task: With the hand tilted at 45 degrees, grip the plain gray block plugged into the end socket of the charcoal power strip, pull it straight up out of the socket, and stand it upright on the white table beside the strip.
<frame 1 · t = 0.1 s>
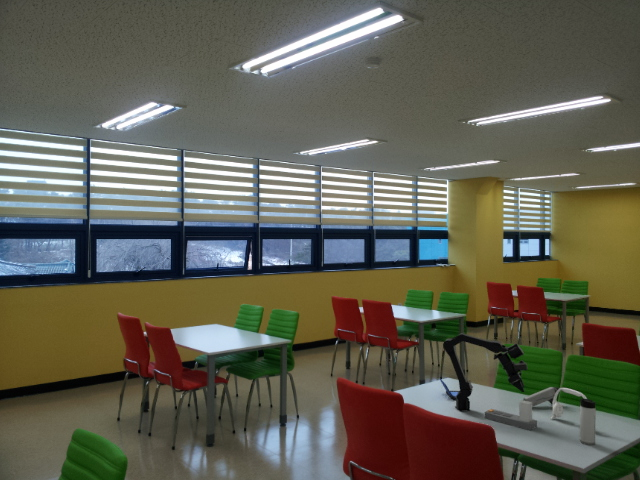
hand: (523, 389, 260), 15 cm above the table, tool tilted 35°, fingers open, 9 cm apart
headset: (571, 424, 251), on the table
power strip: (510, 422, 254), on the table
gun: (541, 406, 280), on the table
handheld game console: (453, 396, 297), on the table
plain gray block: (525, 426, 248), resting in power strip
travel mug: (587, 443, 228), on the table
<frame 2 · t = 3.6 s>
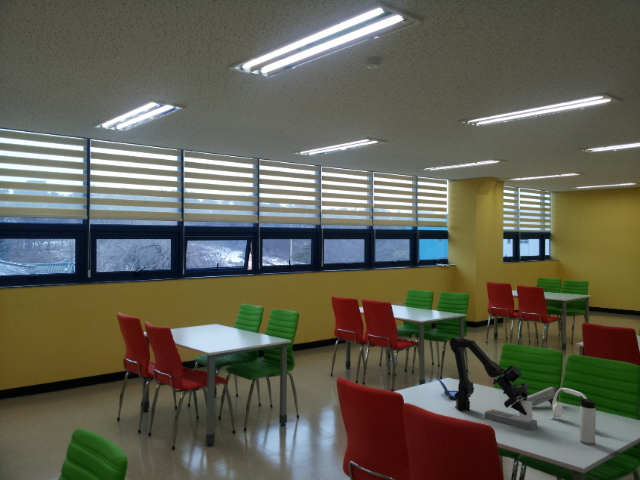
hand: (528, 413, 247), 7 cm above the table, tool tilted 45°, fingers closed on plain gray block, 5 cm apart
plain gray block: (525, 426, 248), resting in power strip, touching gripper
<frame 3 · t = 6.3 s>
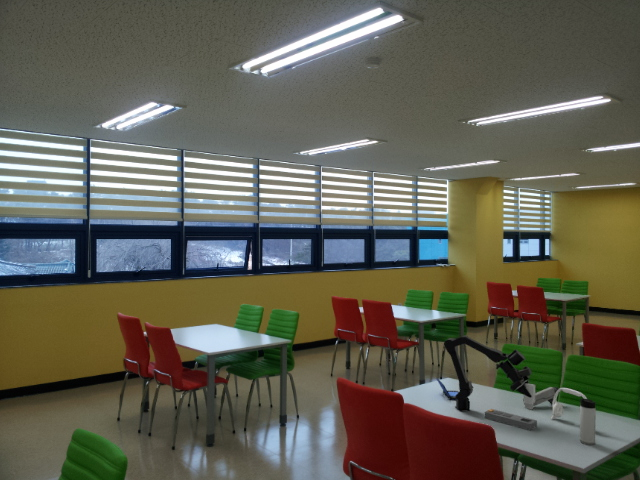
hand: (532, 396, 254), 13 cm above the table, tool tilted 45°, fingers closed on plain gray block, 5 cm apart
plain gray block: (529, 408, 255), point 7 cm above the table, touching gripper
when the fingers open (8 cm above the table, at t = 8.8 s): plain gray block drops 2 cm, on the table.
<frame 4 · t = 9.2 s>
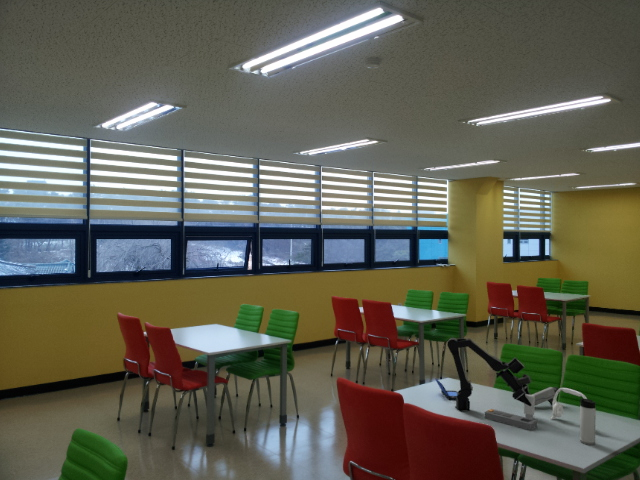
hand: (532, 403, 259), 8 cm above the table, tool tilted 45°, fingers open, 9 cm apart
plain gray block: (529, 418, 260), on the table
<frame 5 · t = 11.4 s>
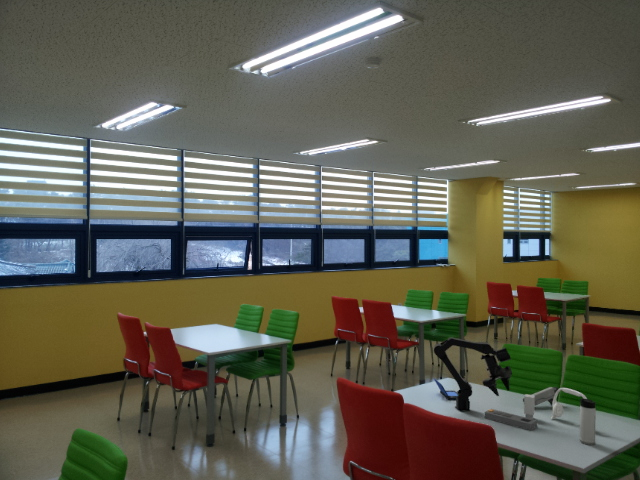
hand: (503, 393, 267), 11 cm above the table, tool tilted 20°, fingers open, 9 cm apart
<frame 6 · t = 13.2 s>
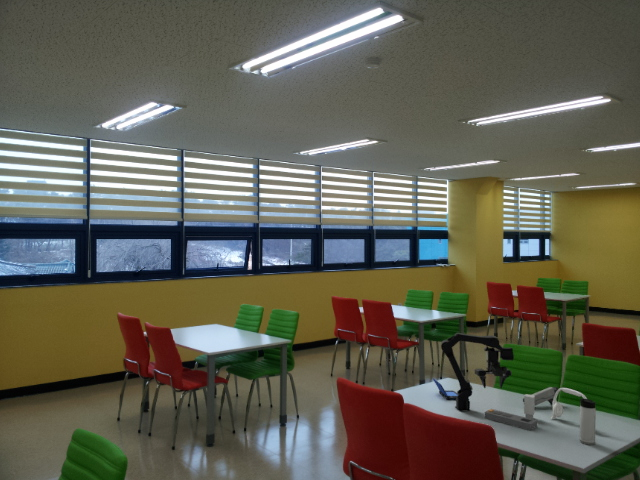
hand: (492, 387, 269), 13 cm above the table, tool pointing down, fingers open, 9 cm apart
at the end: plain gray block inside the target area (0.1 cm from its centre), on the table; plain gray block tilted 0°; the gripper is holding nothing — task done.
